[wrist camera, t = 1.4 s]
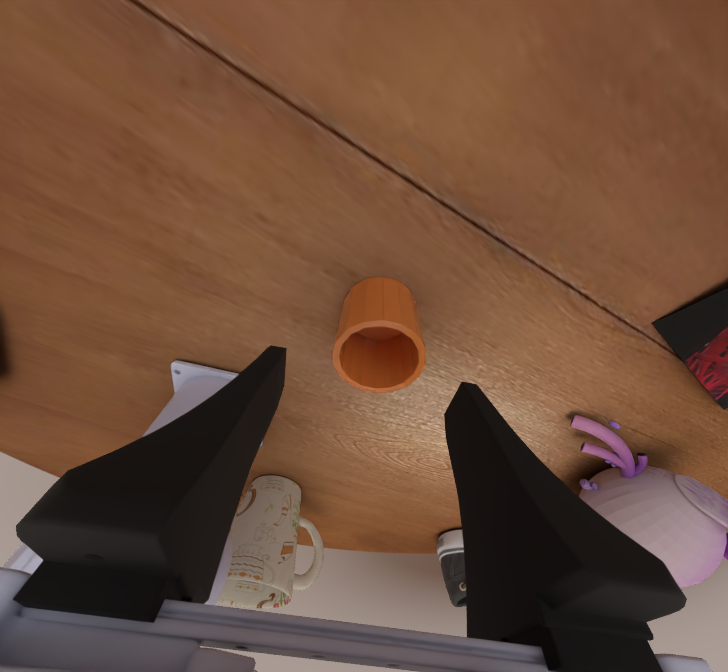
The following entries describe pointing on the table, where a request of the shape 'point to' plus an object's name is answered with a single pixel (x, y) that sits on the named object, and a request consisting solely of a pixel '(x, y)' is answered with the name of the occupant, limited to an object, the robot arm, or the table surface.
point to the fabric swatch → (702, 341)
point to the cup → (379, 337)
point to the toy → (657, 507)
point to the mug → (268, 546)
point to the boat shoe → (453, 565)
